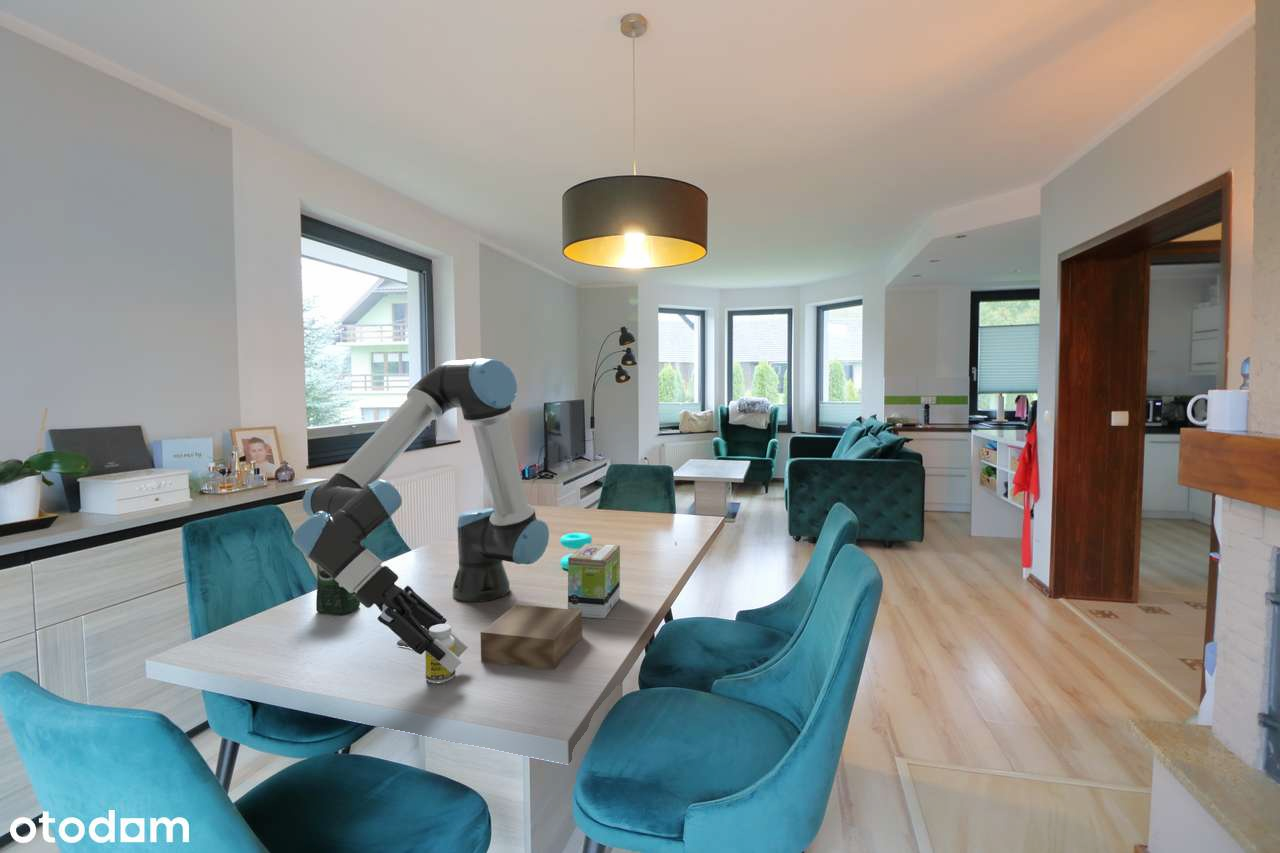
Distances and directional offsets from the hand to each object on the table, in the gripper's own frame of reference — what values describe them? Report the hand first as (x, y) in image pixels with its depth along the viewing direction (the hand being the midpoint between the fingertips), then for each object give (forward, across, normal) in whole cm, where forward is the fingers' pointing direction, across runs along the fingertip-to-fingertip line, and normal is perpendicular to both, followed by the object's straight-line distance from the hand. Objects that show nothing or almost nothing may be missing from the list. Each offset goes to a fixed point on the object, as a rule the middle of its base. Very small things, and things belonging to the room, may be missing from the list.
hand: (460, 659), depth 110 cm
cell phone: (-5, -19, -11) cm, 23 cm away
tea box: (+22, -33, +17) cm, 43 cm away
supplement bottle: (0, 0, -5) cm, 5 cm away
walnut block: (+12, -11, +7) cm, 17 cm away
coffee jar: (-24, -40, -29) cm, 55 cm away
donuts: (+19, -69, +14) cm, 73 cm away
